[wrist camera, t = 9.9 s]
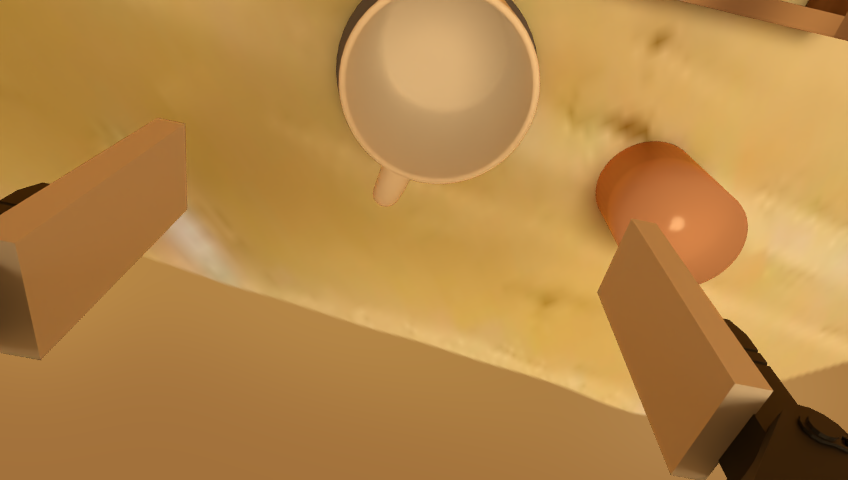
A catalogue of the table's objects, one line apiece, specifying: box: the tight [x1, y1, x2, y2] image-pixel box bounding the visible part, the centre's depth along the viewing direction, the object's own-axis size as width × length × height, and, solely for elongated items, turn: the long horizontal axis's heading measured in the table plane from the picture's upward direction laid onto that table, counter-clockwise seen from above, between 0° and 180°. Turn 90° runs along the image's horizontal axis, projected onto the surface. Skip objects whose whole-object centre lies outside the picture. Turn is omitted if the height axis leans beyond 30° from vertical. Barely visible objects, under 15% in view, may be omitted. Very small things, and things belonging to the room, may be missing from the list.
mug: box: [339, 0, 540, 206], centre depth 27 cm, size 12×8×10 cm
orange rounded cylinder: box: [596, 141, 748, 284], centre depth 32 cm, size 6×6×7 cm
